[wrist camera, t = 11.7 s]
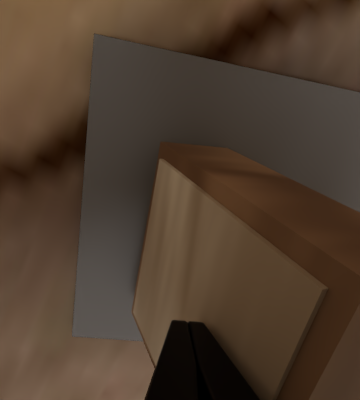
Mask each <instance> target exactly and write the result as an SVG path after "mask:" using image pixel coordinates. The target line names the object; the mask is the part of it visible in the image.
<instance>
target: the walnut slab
mask: <svg viewBox="0 0 360 400" xmlns="http://www.w3.org/2000/svg"><path fill="white" fill-rule="evenodd" d="M132 315H133V317H134V320H135V322H136V324H137V327H138V329H139V332H140V334H141V336H142V339H143V341H144V344H145V346H146V349H147V351H148V353H149V356H150V358H151V361H152V363H153V365H154V368H155V367H156V364H157V361H158V358H159V355H160V352H161V349H162V347H163V344H164V341H165V338H166V335H167V332H168V329H169V326H170V323H171V321H172V320H185V321H186V322H189V321H197V322H203V323H204V324H205V325H206V327H207V328H208V329H209V331H210V332H211V333H212V335H213V336H214V337H215V339H216V340H217V341H218V343H219V344H220V346H221V347H222V348H223V350H224V351H225V352H226V354H227V355H228V356H229V358H230V359H231V361H232V362H233V363H234V365H235V366H236V367H237V369H238V370H239V371H240V373H241V374H242V375H243V377H244V378H245V380H246V381H247V382H248V384H249V385H250V386H251V388H252V389H253V390H254V392H255V393H256V394H257V396H258V397H259V399H260V400H360V212H358V211H356V210H354V209H352V208H350V207H347V206H345V205H343V204H341V203H339V202H337V201H335V200H333V199H331V198H329V197H327V196H325V195H323V194H321V193H319V192H317V191H315V190H313V189H311V188H308V187H306V186H304V185H302V184H300V183H298V182H296V181H294V180H292V179H290V178H288V177H286V176H284V175H282V174H280V173H278V172H276V171H274V170H272V169H270V168H267V167H265V166H263V165H261V164H259V163H257V162H255V161H253V160H251V159H249V158H247V157H245V156H243V155H241V154H239V153H237V152H235V151H233V150H231V149H228V148H222V147H212V146H202V145H192V144H181V143H171V142H160V147H159V153H158V159H157V165H156V171H155V177H154V183H153V188H152V194H151V200H150V206H149V212H148V218H147V224H146V229H145V235H144V241H143V247H142V253H141V259H140V265H139V271H138V276H137V282H136V288H135V294H134V300H133V306H132Z"/></svg>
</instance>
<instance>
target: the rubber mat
mask: <svg viewBox="0 0 360 400" xmlns="http://www.w3.org/2000/svg"><path fill="white" fill-rule="evenodd" d="M160 142H171V143H181V144H192V145H202V146H212V147H222V148H228V149H231V150H233V151H235V152H237V153H239V154H241V155H243V156H245V157H247V158H249V159H251V160H253V161H255V162H257V163H259V164H261V165H263V166H265V167H267V168H270V169H272V170H274V171H276V172H278V173H280V174H282V175H284V176H286V177H288V178H290V179H292V180H294V181H296V182H298V183H300V184H302V185H304V186H306V187H308V188H311V189H313V190H315V191H317V192H319V193H321V194H323V195H325V196H327V197H329V198H331V199H333V200H335V201H337V202H339V203H341V204H343V205H345V206H347V207H350V208H352V209H354V210H356V211H358V212H360V92H356V91H351V90H347V89H342V88H338V87H333V86H329V85H324V84H320V83H315V82H311V81H306V80H302V79H297V78H293V77H288V76H284V75H279V74H274V73H270V72H265V71H261V70H256V69H252V68H247V67H243V66H238V65H234V64H229V63H225V62H220V61H216V60H211V59H207V58H202V57H198V56H193V55H189V54H184V53H180V52H175V51H171V50H166V49H161V48H157V47H152V46H148V45H143V44H139V43H134V42H130V41H125V40H121V39H116V38H112V37H107V36H103V35H98V34H94V41H93V55H92V69H91V83H90V96H89V110H88V124H87V138H86V151H85V165H84V179H83V193H82V206H81V220H80V234H79V248H78V261H77V275H76V289H75V303H74V317H73V330H72V336H74V337H88V338H102V339H117V340H131V341H143V339H142V336H141V334H140V332H139V329H138V327H137V324H136V322H135V320H134V317H133V315H132V306H133V300H134V294H135V288H136V282H137V276H138V271H139V265H140V259H141V253H142V247H143V241H144V235H145V229H146V224H147V218H148V212H149V206H150V200H151V194H152V188H153V183H154V177H155V171H156V165H157V159H158V153H159V147H160Z"/></svg>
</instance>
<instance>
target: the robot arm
mask: <svg viewBox="0 0 360 400" xmlns="http://www.w3.org/2000/svg"><path fill="white" fill-rule="evenodd" d="M145 400H260V399H259V397H258V396H257V394H256V393H255V392H254V390H253V389H252V388H251V386H250V385H249V384H248V382H247V381H246V380H245V378H244V377H243V375H242V374H241V373H240V371H239V370H238V369H237V367H236V366H235V365H234V363H233V362H232V361H231V359H230V358H229V356H228V355H227V354H226V352H225V351H224V350H223V348H222V347H221V346H220V344H219V343H218V341H217V340H216V339H215V337H214V336H213V335H212V333H211V332H210V331H209V329H208V328H207V327H206V325H205V324H204V323H203V322H197V321H189V322H186V321H185V320H172V321H171V323H170V326H169V329H168V332H167V335H166V338H165V341H164V344H163V347H162V349H161V352H160V355H159V358H158V361H157V364H156V367H155V370H154V373H153V376H152V379H151V382H150V385H149V388H148V391H147V394H146V397H145Z"/></svg>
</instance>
